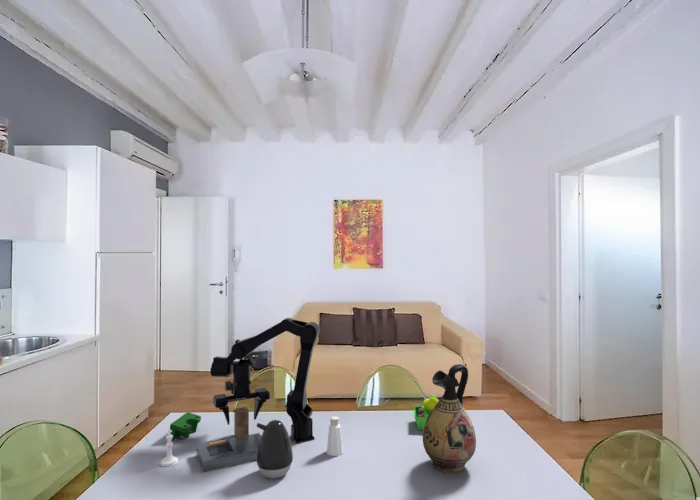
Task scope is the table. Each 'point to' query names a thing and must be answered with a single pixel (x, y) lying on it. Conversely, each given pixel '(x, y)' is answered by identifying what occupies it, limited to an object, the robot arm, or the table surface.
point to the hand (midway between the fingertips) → (241, 421)
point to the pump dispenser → (274, 450)
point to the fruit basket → (424, 411)
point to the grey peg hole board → (237, 452)
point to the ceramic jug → (449, 425)
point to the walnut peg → (241, 422)
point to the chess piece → (169, 452)
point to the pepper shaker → (334, 438)
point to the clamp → (184, 425)
